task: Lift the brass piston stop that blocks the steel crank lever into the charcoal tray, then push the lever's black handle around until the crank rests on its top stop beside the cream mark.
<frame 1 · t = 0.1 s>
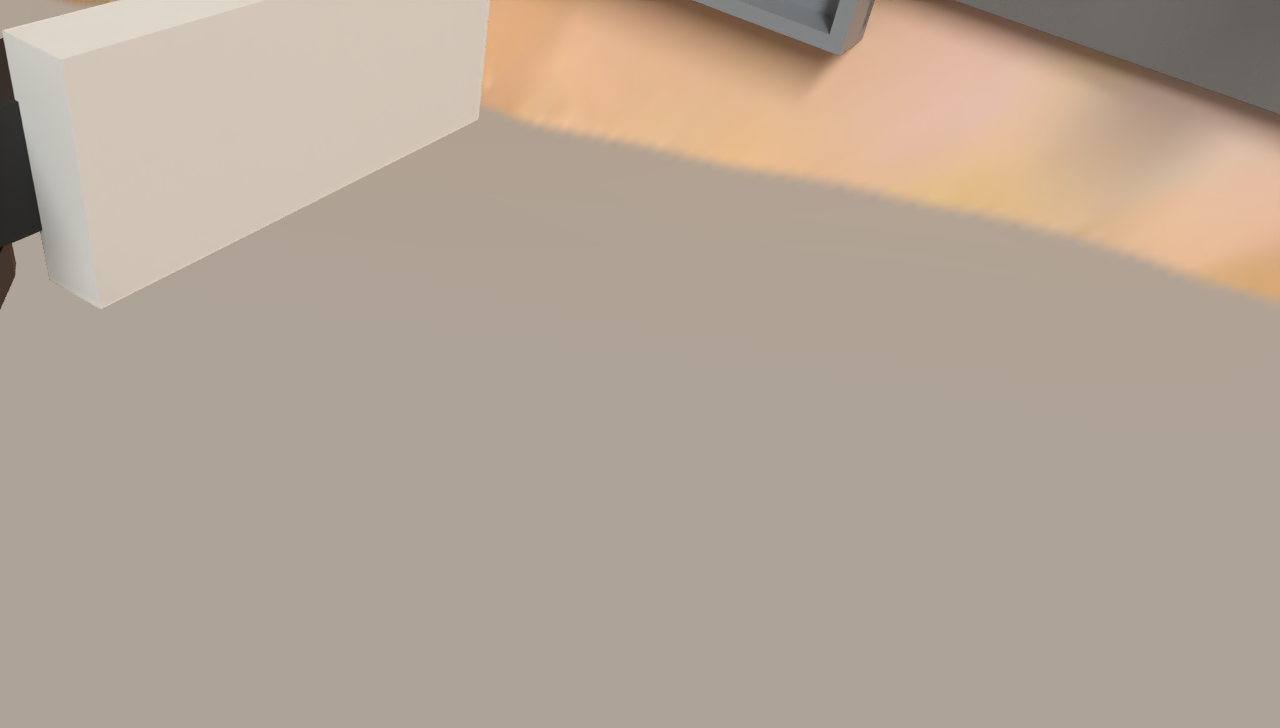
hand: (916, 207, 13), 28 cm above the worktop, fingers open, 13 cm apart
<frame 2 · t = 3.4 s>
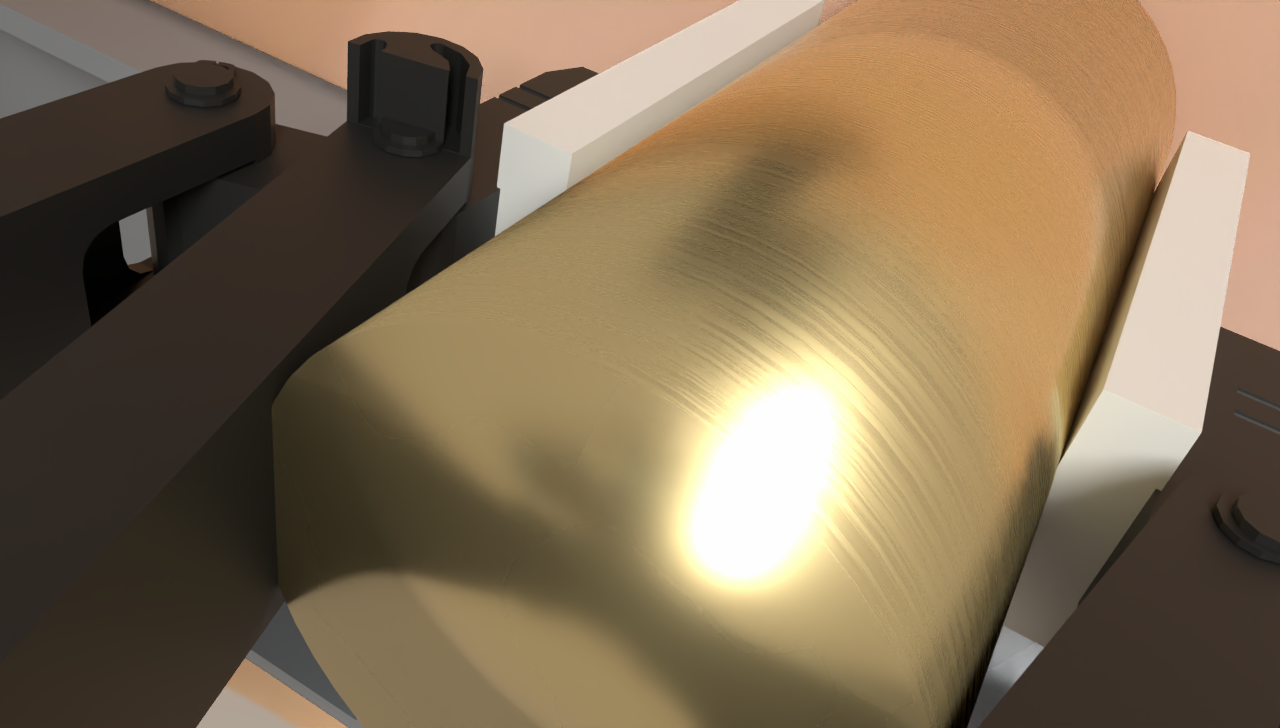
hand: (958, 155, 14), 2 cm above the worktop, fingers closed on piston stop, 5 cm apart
crank plate: (765, 649, 24), on the worktop
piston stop: (988, 118, 16), on the worktop, touching gripper
tray: (175, 315, 29), on the worktop
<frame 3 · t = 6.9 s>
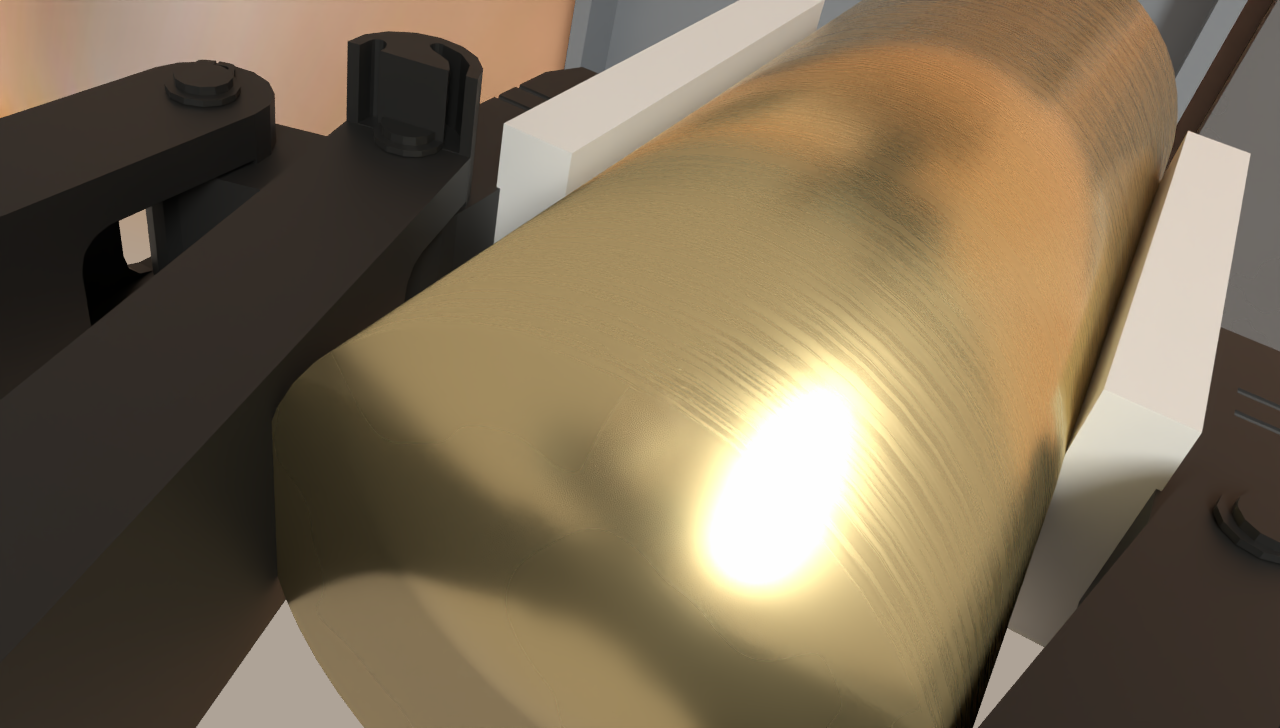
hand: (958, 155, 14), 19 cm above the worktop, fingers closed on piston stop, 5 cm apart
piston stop: (990, 120, 16), point 17 cm above the worktop, touching gripper
when the fingers open (4 cm above the worktop, at t = 10.6 s): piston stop stays where it is, resting on tray.
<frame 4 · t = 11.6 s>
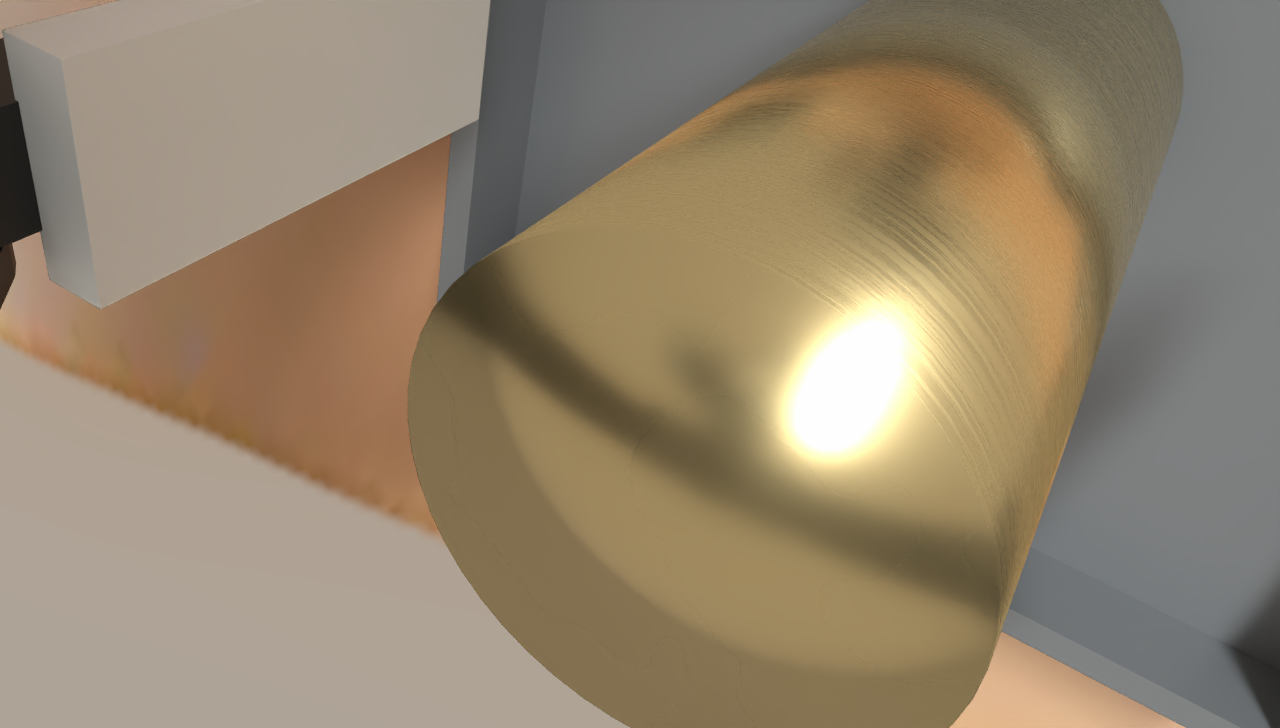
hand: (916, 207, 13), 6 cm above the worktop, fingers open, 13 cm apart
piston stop: (1009, 95, 17), point 1 cm above the worktop, touching tray
tray: (1016, 81, 18), on the worktop
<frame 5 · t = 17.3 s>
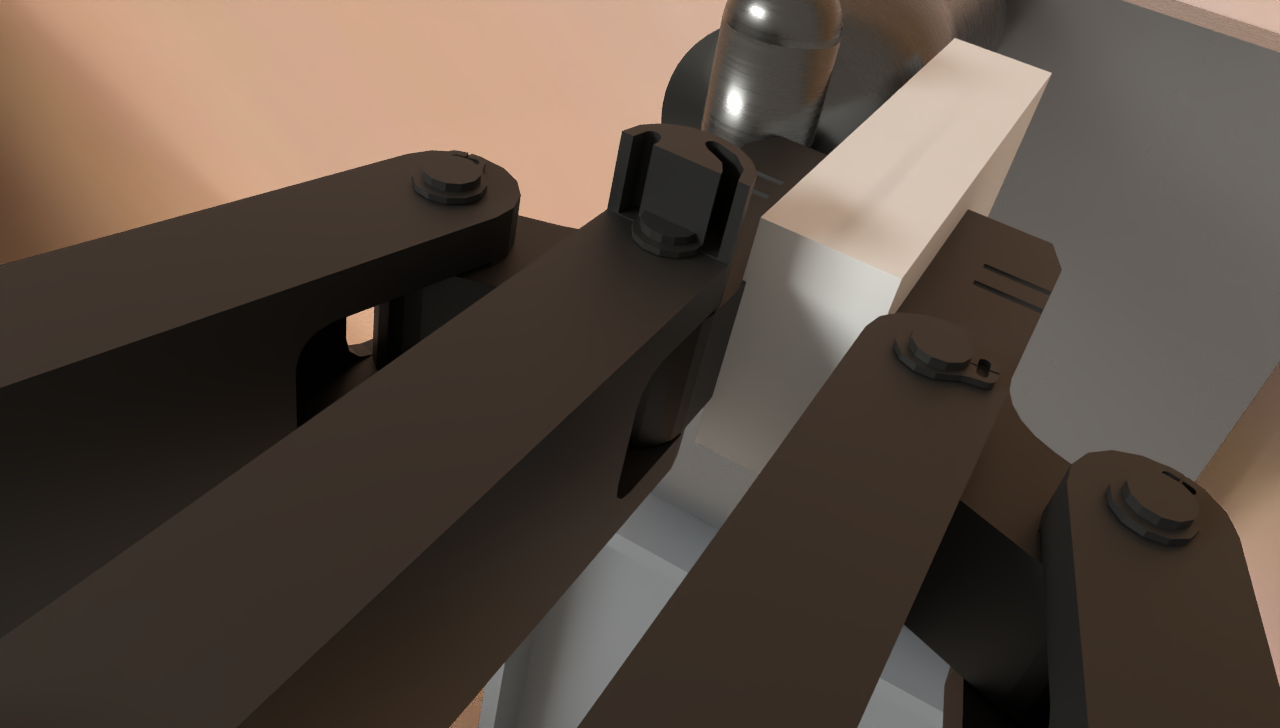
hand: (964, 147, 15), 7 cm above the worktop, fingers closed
crank lever: (785, 312, 19), point 6 cm above the worktop, hinge at 92.3°, touching gripper
crank plate: (940, 323, 24), on the worktop
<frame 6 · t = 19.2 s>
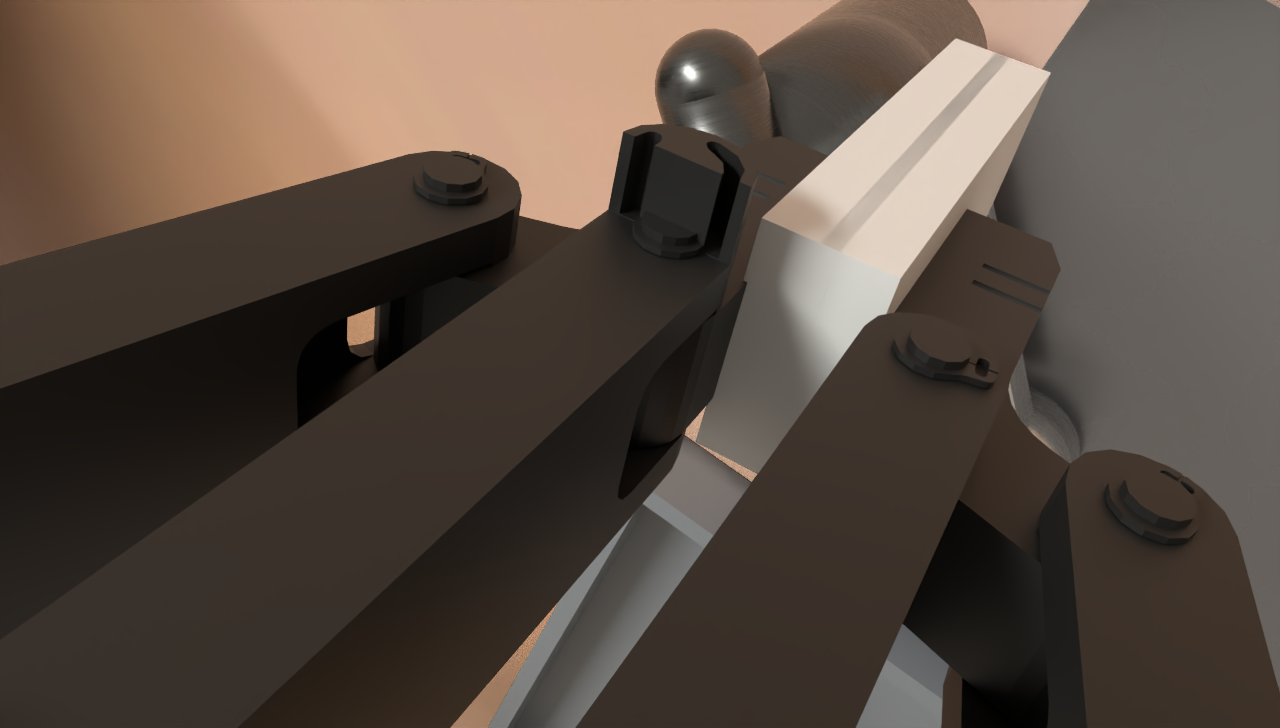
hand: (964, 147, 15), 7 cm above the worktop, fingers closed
crank lever: (902, 366, 19), point 6 cm above the worktop, hinge at 133.4°, touching gripper
crank plate: (1149, 404, 23), on the worktop
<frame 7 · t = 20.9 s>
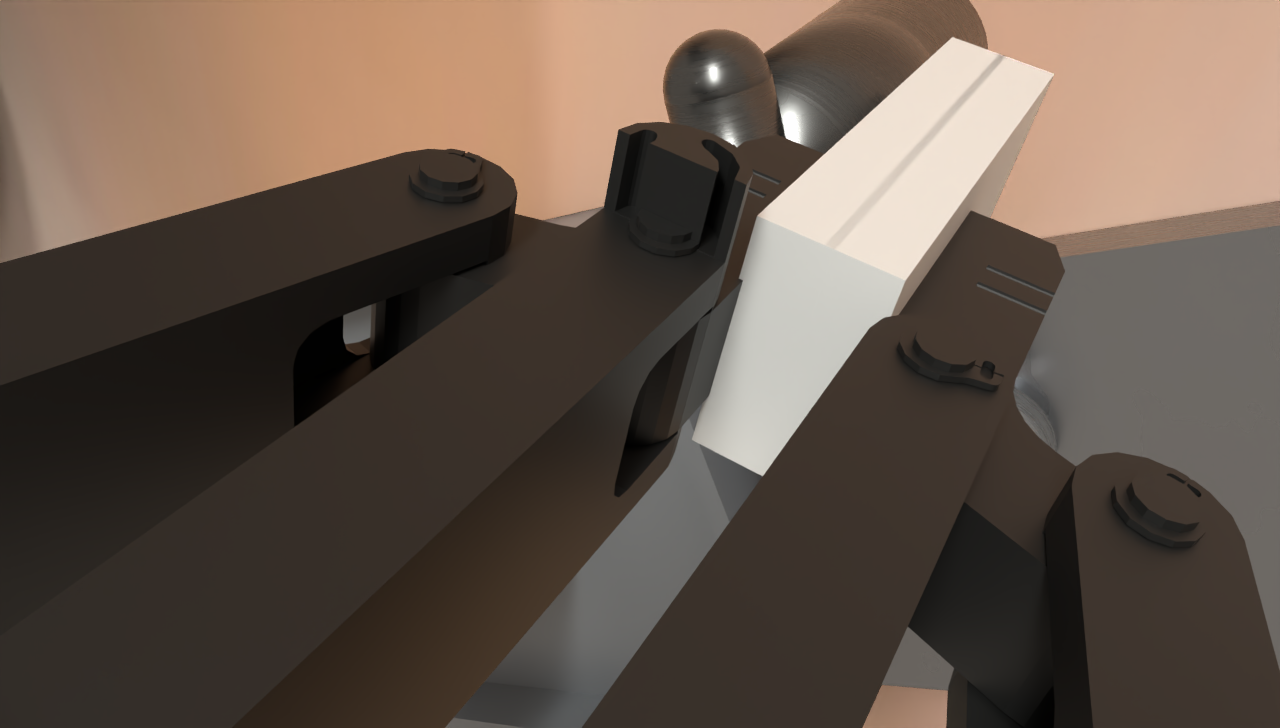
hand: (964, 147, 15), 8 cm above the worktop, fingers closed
crank lever: (889, 363, 19), point 6 cm above the worktop, hinge at 173.9°, touching gripper
crank plate: (1102, 473, 25), on the worktop
tray: (523, 492, 35), on the worktop
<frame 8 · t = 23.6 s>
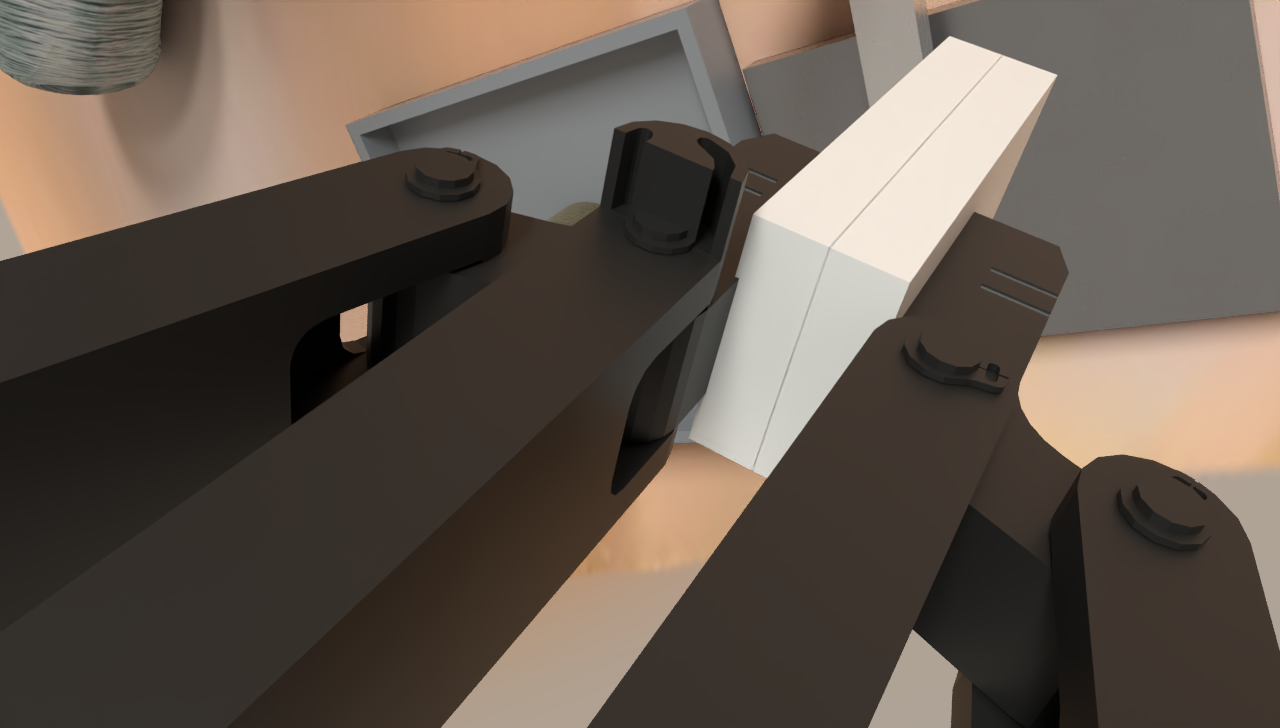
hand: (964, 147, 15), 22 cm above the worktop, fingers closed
crank lever: (857, 43, 32), point 6 cm above the worktop, hinge at 175.0°
crank plate: (1006, 169, 37), on the worktop
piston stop: (596, 254, 47), point 1 cm above the worktop, touching tray
tray: (602, 249, 48), on the worktop
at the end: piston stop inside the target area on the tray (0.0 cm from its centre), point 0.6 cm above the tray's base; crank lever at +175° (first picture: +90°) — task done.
